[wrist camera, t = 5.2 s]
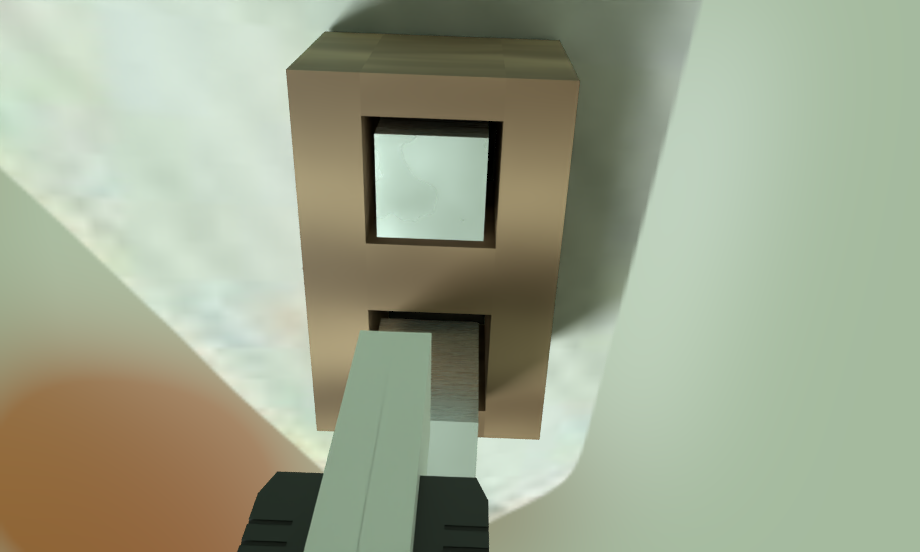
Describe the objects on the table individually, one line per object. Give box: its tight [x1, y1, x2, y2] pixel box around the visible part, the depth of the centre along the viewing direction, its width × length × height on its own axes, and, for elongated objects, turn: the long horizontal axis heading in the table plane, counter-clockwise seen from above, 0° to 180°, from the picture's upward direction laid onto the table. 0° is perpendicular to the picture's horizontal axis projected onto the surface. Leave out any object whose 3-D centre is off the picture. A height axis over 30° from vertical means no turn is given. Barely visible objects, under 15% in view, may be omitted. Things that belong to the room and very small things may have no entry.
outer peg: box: [379, 318, 479, 478], centre depth 27 cm, size 4×4×6 cm
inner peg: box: [374, 117, 489, 241], centre depth 28 cm, size 4×4×6 cm
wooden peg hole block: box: [286, 32, 580, 440], centre depth 31 cm, size 16×10×7 cm, turn 178°
